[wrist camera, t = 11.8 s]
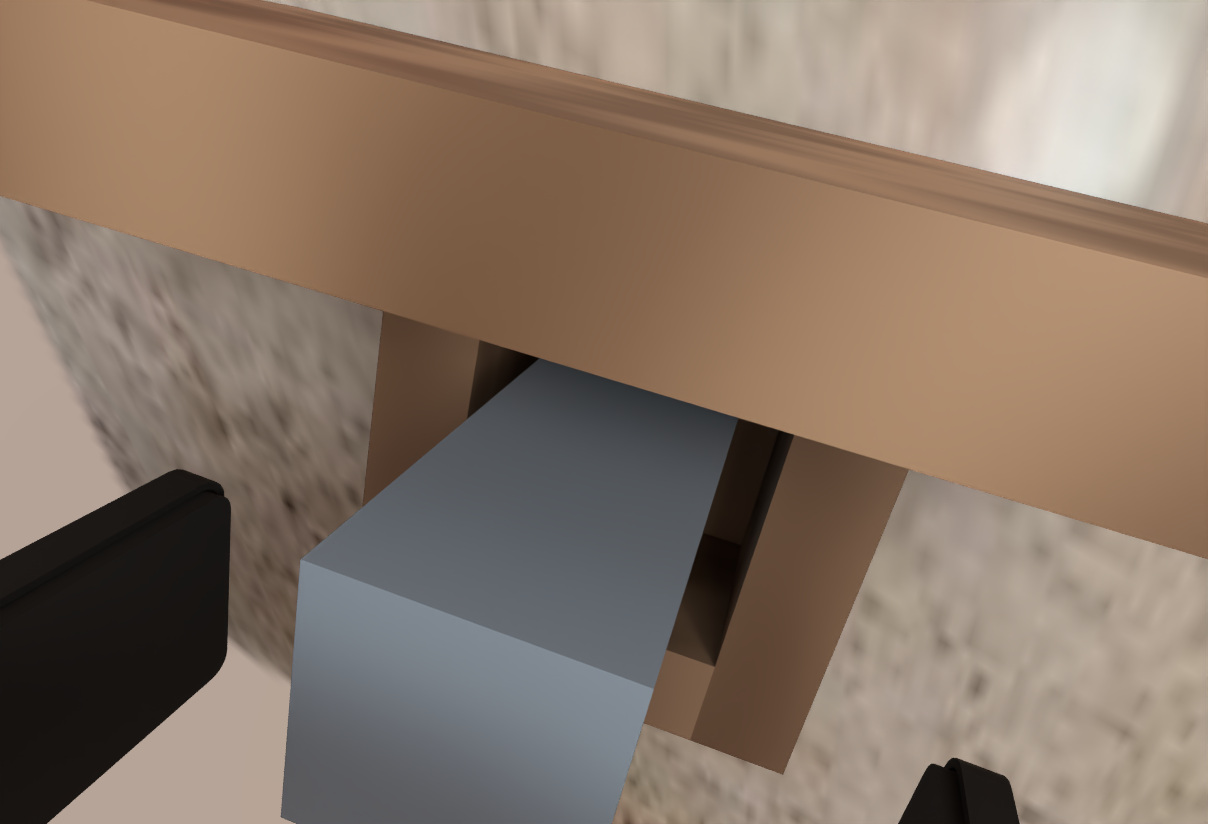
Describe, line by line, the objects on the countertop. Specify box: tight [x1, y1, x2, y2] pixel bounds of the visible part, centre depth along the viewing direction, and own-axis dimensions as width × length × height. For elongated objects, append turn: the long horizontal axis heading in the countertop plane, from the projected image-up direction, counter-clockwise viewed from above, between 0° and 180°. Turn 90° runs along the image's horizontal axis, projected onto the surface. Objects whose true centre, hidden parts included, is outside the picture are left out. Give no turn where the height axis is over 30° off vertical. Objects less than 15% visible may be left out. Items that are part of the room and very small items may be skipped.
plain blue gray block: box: [281, 358, 738, 824], centre depth 15 cm, size 4×4×12 cm
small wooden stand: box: [0, 0, 1208, 774], centre depth 15 cm, size 24×12×14 cm, turn 77°
